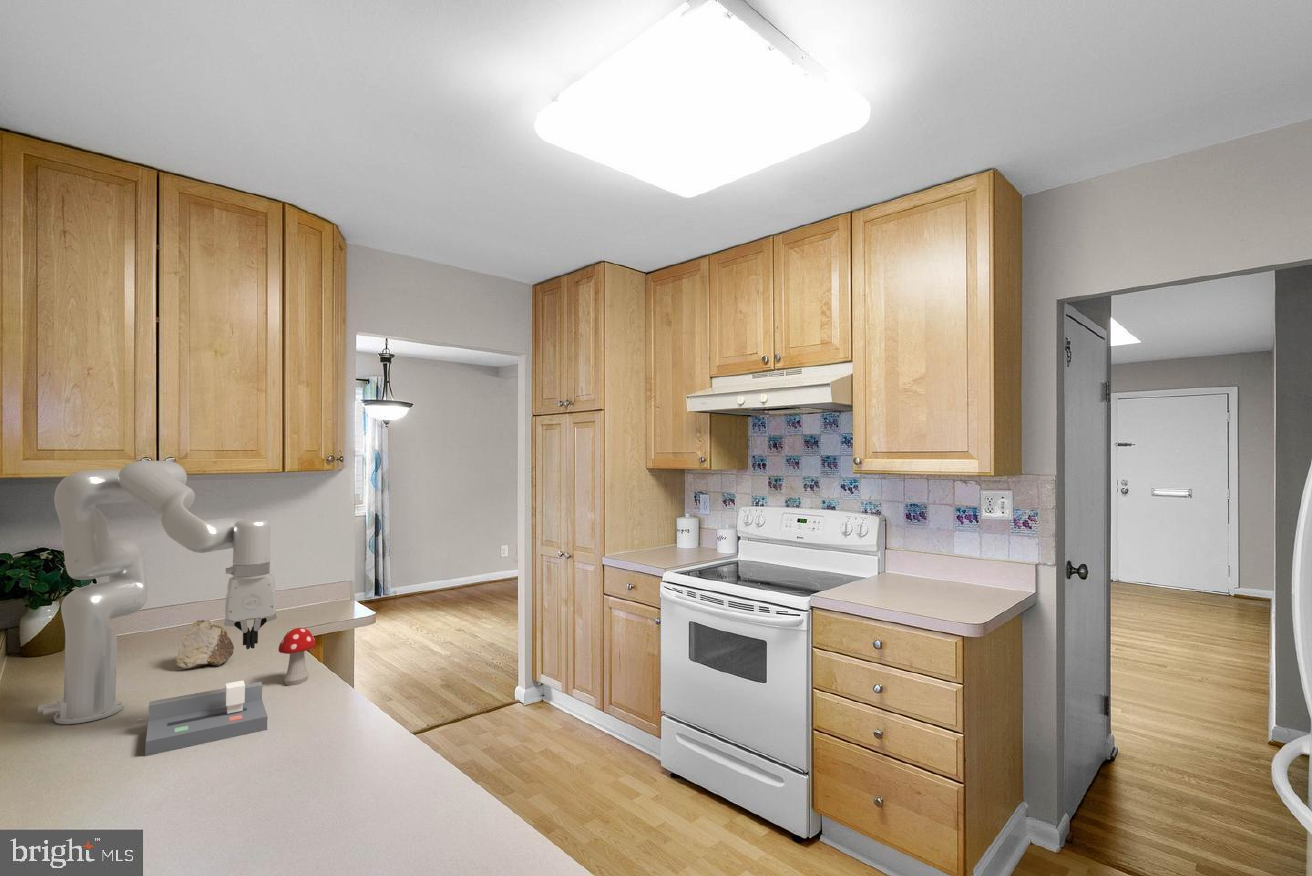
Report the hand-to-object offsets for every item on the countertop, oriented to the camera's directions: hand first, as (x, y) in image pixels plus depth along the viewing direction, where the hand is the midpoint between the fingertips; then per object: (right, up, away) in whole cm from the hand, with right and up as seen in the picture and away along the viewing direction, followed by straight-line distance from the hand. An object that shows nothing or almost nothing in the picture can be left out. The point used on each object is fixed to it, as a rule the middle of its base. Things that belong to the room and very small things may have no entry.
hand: (250, 647), depth 151 cm
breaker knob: (-2, -14, -2) cm, 15 cm away
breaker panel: (-6, -17, -5) cm, 19 cm away
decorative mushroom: (-4, -19, +27) cm, 33 cm away
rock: (-39, -19, +40) cm, 59 cm away
